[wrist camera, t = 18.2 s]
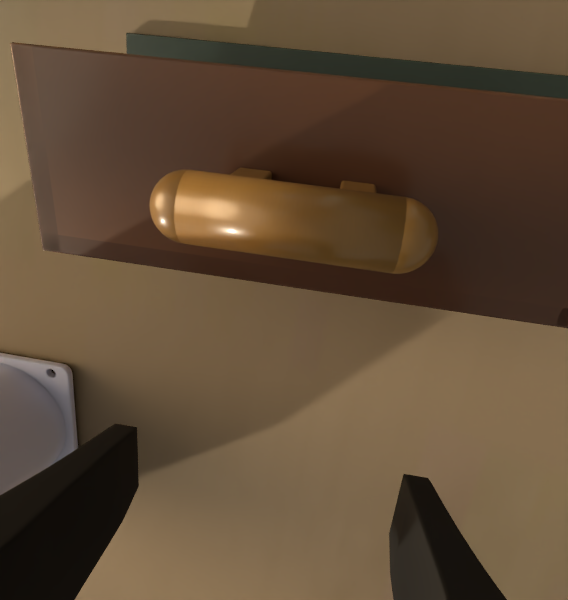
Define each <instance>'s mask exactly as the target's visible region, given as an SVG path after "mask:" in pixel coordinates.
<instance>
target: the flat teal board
mask: <svg viewBox="0 0 568 600" xmlns="http://www.w3.org/2000/svg"><path fill="white" fill-rule="evenodd" d="M126 38H127V54H134V55H144V56H154V57H164V58H174V59H183V60H193V61H203V62H213V63H223V64H232V65H242V66H252V67H262V68H271V69H281V70H291V71H301V72H311V73H320V74H330V75H340V76H350V77H360V78H369V79H379V80H389V81H399V82H408V83H418V84H428V85H438V86H448V87H457V88H467V89H477V90H487V91H496V92H506V93H516V94H526V95H536V96H545V97H555V98H564V99H568V76H564V75H554V74H543V73H533V72H523V71H513V70H502V69H492V68H482V67H472V66H461V65H451V64H441V63H431V62H420V61H410V60H400V59H390V58H379V57H369V56H359V55H349V54H338V53H328V52H318V51H308V50H297V49H287V48H277V47H267V46H256V45H246V44H236V43H226V42H215V41H205V40H195V39H185V38H174V37H164V36H154V35H144V34H133V33H126Z"/></svg>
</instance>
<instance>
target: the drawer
mask: <svg viewBox="0 0 568 600" xmlns="http://www.w3.org/2000/svg"><path fill="white" fill-rule="evenodd" d="M10 46H11V52H12V58H13V65H14V71H15V77H16V84H17V90H18V96H19V103H20V109H21V115H22V121H23V128H24V134H25V140H26V147H27V153H28V159H29V166H30V172H31V178H32V184H33V191H34V197H35V203H36V210H37V216H38V222H39V229H40V235H41V241H42V248H43V250H45V251H52V252H59V253H66V254H73V255H80V256H86V257H93V258H100V259H107V260H113V261H120V262H127V263H133V264H140V265H147V266H154V267H160V268H167V269H174V270H180V271H187V272H194V273H201V274H207V275H214V276H221V277H227V278H234V279H241V280H248V281H254V282H261V283H268V284H274V285H281V286H288V287H295V288H301V289H308V290H315V291H321V292H328V293H335V294H342V295H348V296H355V297H362V298H368V299H375V300H382V301H389V302H395V303H402V304H409V305H416V306H422V307H429V308H436V309H442V310H449V311H456V312H463V313H469V314H476V315H483V316H489V317H496V318H503V319H510V320H516V321H523V322H530V323H536V324H543V325H550V326H557V327H563V328H568V99H564V98H555V97H545V96H536V95H526V94H516V93H506V92H496V91H487V90H477V89H467V88H457V87H448V86H438V85H428V84H418V83H408V82H399V81H389V80H379V79H369V78H360V77H350V76H340V75H330V74H320V73H311V72H301V71H291V70H281V69H271V68H262V67H252V66H242V65H232V64H223V63H213V62H203V61H193V60H183V59H174V58H164V57H154V56H144V55H134V54H124V53H114V52H104V51H94V50H84V49H74V48H64V47H54V46H44V45H34V44H24V43H14V42H12V43H11V44H10Z"/></svg>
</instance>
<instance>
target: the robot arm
mask: <svg viewBox="0 0 568 600" xmlns="http://www.w3.org/2000/svg"><path fill="white" fill-rule="evenodd" d="M51 369H52V370H53V371H54V372H55V374H54V373H53V372H52V371H51ZM138 486H139V484H138V446H137V427H133V426H127V425H121V424H114V425H113V426H111V427H110V428H108V429H106V430H105V431H103V432H102V433H100V434H99V435H97V436H96V437H94V438H93V439H91V440H90V441H88V442H87V443H85V444H84V445H82V446H81V447H79V448H78V441H77V427H76V414H75V401H74V387H73V374H72V370H71V369H70V367H69V366H67V365H65V364H62V363H56V362H51V361H45V360H39V359H33V358H28V357H22V356H16V355H10V354H5V353H0V600H74V599H75V598H76V596H77V595H78V593H79V591H80V590H81V588H82V586H83V585H84V583H85V582H86V580H87V578H88V577H89V575H90V573H91V572H92V570H93V569H94V567H95V565H96V564H97V562H98V561H99V559H100V557H101V556H102V554H103V552H104V551H105V549H106V548H107V546H108V544H109V543H110V541H111V539H112V538H113V536H114V534H115V533H116V531H117V529H118V528H119V526H120V524H121V523H122V521H123V519H124V517H125V515H126V512H127V510H128V508H129V506H130V504H131V502H132V500H133V497H134V495H135V493H136V491H137V488H138ZM389 541H390V575H391V583H392V591H393V599H394V600H507V599H506V598H505V597H504V595H503V594H502V593H501V591H500V590H499V589H498V587H497V586H496V584H495V583H494V582H493V580H492V579H491V577H490V576H489V575H488V573H487V572H486V570H485V569H484V568H483V566H482V565H481V563H480V562H479V560H478V559H477V557H476V556H475V554H474V553H473V551H472V550H471V548H470V547H469V545H468V543H467V542H466V540H465V539H464V537H463V536H462V534H461V533H460V531H459V529H458V528H457V526H456V525H455V523H454V521H453V520H452V518H451V516H450V515H449V513H448V511H447V510H446V508H445V506H444V504H443V503H442V501H441V499H440V497H439V496H438V494H437V492H436V490H435V489H434V487H433V485H432V483H431V482H430V480H429V479H428V478H424V477H419V476H413V475H407V474H404V475H403V479H402V483H401V487H400V491H399V495H398V500H397V504H396V508H395V512H394V516H393V520H392V524H391V528H390V533H389Z"/></svg>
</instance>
